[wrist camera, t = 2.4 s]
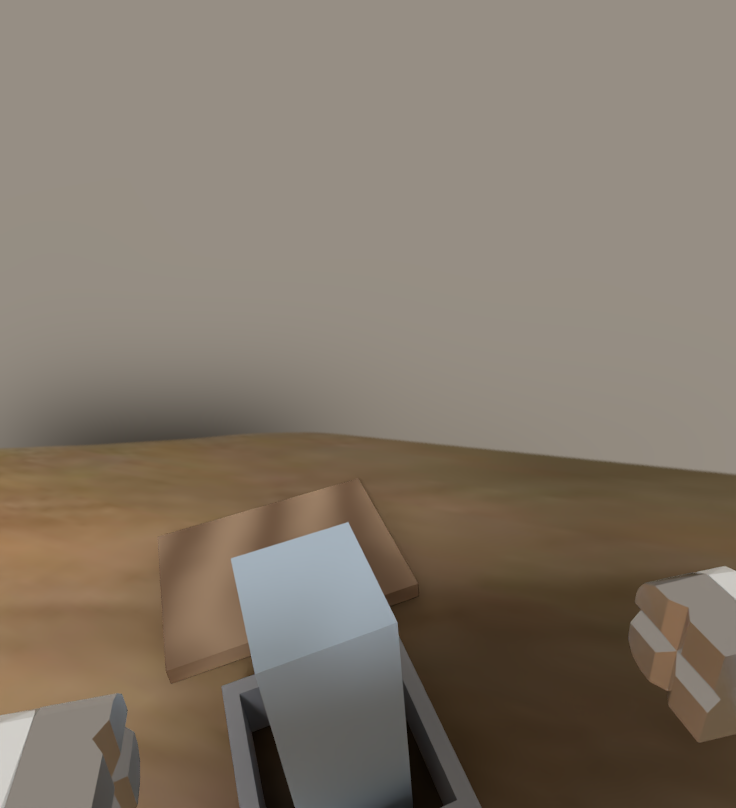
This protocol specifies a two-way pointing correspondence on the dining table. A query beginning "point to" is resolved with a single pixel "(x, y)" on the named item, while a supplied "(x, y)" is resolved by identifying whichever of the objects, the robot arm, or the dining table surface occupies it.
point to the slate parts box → (328, 670)
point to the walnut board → (243, 533)
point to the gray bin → (423, 721)
